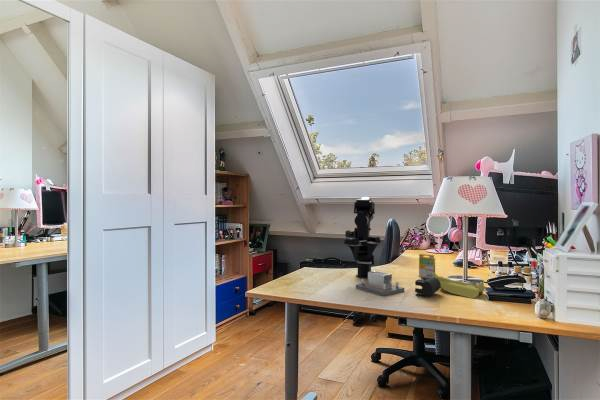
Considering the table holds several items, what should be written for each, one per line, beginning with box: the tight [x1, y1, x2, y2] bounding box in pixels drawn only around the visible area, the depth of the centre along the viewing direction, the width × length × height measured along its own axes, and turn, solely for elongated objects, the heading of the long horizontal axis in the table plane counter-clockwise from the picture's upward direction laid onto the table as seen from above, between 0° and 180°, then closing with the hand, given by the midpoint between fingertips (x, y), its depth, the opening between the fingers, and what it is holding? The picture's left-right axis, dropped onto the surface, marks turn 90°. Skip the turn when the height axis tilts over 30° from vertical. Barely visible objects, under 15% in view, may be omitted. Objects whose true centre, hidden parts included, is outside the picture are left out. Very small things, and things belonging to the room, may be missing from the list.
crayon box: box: [418, 253, 436, 278], centre depth 184 cm, size 7×3×12 cm, turn 58°
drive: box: [367, 270, 393, 288], centre depth 158 cm, size 5×9×6 cm, turn 37°
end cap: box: [414, 277, 441, 298], centre depth 150 cm, size 10×7×7 cm
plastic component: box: [433, 272, 485, 299], centre depth 155 cm, size 20×7×10 cm
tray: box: [355, 278, 405, 297], centre depth 158 cm, size 13×16×4 cm
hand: (362, 258), depth 171 cm, fingers open, 9 cm apart
